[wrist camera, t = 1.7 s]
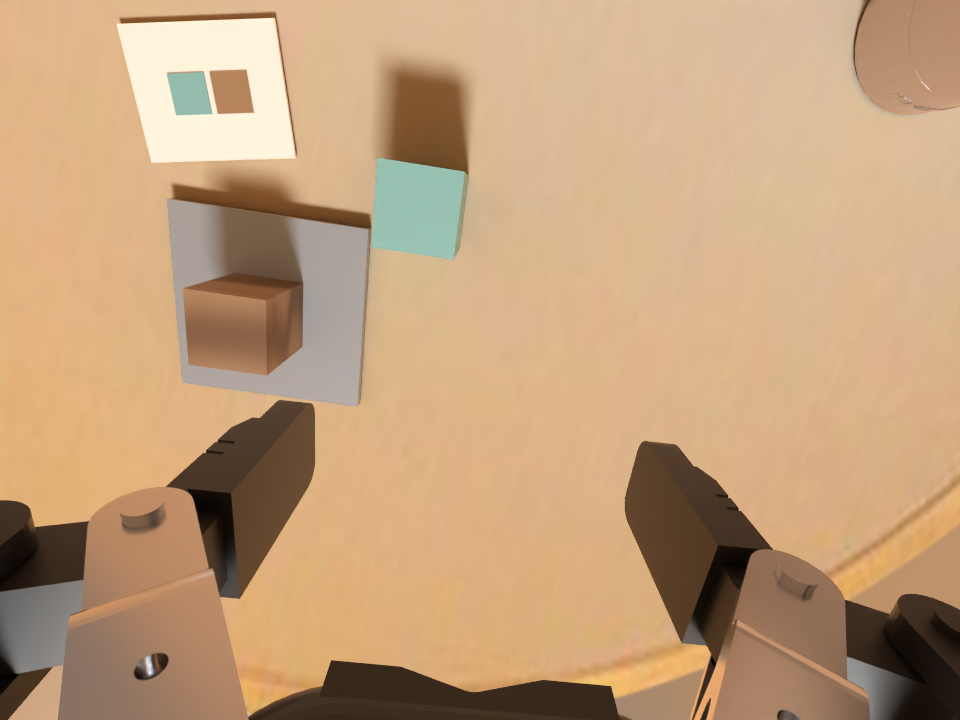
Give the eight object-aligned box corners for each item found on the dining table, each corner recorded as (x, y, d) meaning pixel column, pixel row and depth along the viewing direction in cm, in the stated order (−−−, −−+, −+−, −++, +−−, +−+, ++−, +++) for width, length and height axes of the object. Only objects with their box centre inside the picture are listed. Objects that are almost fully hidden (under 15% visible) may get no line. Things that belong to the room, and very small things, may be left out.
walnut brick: (234, 272, 33) (182, 288, 27) (303, 282, 33) (265, 300, 27) (237, 337, 34) (188, 364, 29) (302, 346, 35) (266, 375, 29)
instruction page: (119, 25, 28) (115, 23, 28) (275, 19, 28) (273, 17, 28) (153, 162, 31) (150, 162, 31) (296, 158, 31) (294, 157, 31)
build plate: (174, 198, 32) (166, 198, 31) (370, 228, 32) (368, 229, 32) (188, 379, 37) (182, 382, 36) (360, 402, 37) (357, 406, 36)
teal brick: (397, 165, 31) (377, 157, 25) (468, 176, 31) (464, 171, 26) (391, 238, 33) (371, 247, 27) (459, 249, 33) (453, 259, 27)
